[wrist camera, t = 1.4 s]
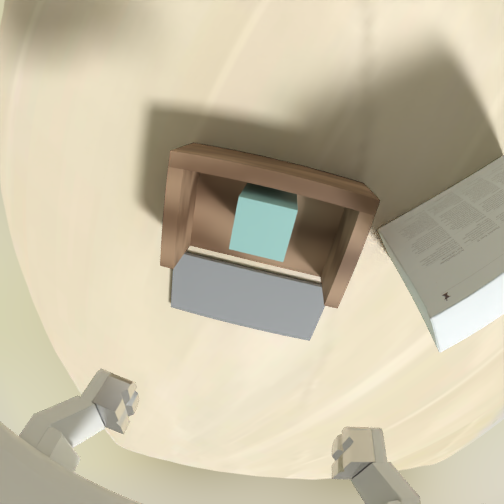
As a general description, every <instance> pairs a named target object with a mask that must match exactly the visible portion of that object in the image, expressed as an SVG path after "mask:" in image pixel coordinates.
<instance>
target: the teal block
mask: <svg viewBox="0 0 504 504" xmlns="http://www.w3.org/2000/svg"><path fill="white" fill-rule="evenodd" d="M297 212H298V204H297V194H294V193H290V192H286V191H282V190H278V189H274V188H269V187H265V186H261V185H257V184H252V183H247V184H246V186H245V187H244V189H243V191H242V192H241V194H240V195H239V198H238V203H237V208H236V214H235V219H234V224H233V229H232V235H231V240H230V245H229V249H230V250H235V251H239V252H243V253H247V254H251V255H255V256H260V257H264V258H268V259H272V260H276V261H280V262H283V261H284V258H285V254H286V251H287V247H288V244H289V240H290V237H291V233H292V230H293V226H294V223H295V219H296V215H297Z"/></svg>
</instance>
